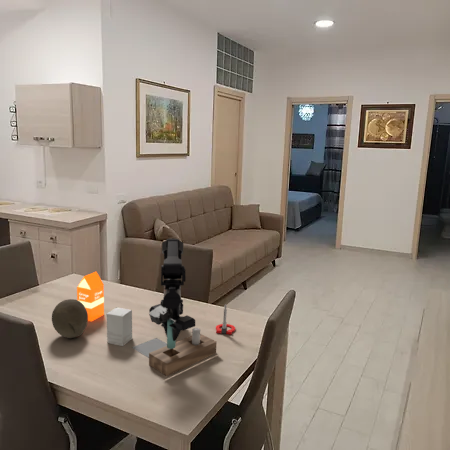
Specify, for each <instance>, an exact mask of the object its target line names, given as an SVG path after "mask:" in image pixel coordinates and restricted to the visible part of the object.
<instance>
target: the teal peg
mask: <svg viewBox="0 0 450 450" xmlns="http://www.w3.org/2000/svg"><path fill="white" fill-rule="evenodd" d="M173 322H174V321H173V320H171V319H169V320H167V336H166V343H167V348H169V349H173V348H175V347H176V342H177V341H176V340H177V339H176V340H175V341H173V336H172V328H171V327H170V326H169V325H171V324H173Z"/></svg>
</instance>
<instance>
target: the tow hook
mask: <svg viewBox="0 0 450 450" xmlns="http://www.w3.org/2000/svg"><path fill="white" fill-rule="evenodd" d="M227 311H228V309H227V304H224V308H223V322H222V323H221V324H217V325H216V326H215V330H216V331H215V333H216V334H221V335H232V334H233V333H234V332H235V331H236V327H235V326H234V325H232V324H229V323H227V313H228V312H227ZM228 328H230V329H228Z"/></svg>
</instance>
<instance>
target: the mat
mask: <svg viewBox="0 0 450 450" xmlns="http://www.w3.org/2000/svg"><path fill="white" fill-rule="evenodd" d="M165 346H167V342H165V341H163V340H161V339H160V338H158V337H156V338H153V339H150V340H148V341H145V342H141V343H139V344H137V345H134V346H131V348H132V349H133V350H135V351H136V352H139V353H140V354H141V355H143V356H145V357H147V358H148V359H149V353H150V352H153V351H155V350H158V349H160V348H163V347H165Z"/></svg>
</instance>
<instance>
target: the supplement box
mask: <svg viewBox="0 0 450 450" xmlns="http://www.w3.org/2000/svg"><path fill="white" fill-rule="evenodd" d="M106 337H107V339H106V340H107V341H106V342H107V343H108V344H111V345H115V346H121V347H123V346H125V345H126V344H127V343H129V342H130V341H131V340H132V339H133V310H132V309H129V308H123V307H119V306H118V307H115V308H113V309H112V310H110V311H109V312H106Z"/></svg>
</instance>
